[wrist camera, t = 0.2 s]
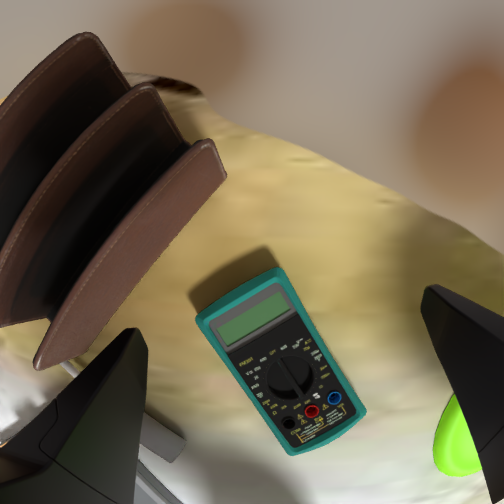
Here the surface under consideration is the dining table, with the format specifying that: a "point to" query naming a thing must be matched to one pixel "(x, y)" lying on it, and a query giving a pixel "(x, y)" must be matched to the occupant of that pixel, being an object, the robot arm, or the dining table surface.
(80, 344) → the letter holder
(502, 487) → the robot arm
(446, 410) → the wineglass
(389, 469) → the dining table surface
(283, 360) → the digital multimeter
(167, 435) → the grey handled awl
